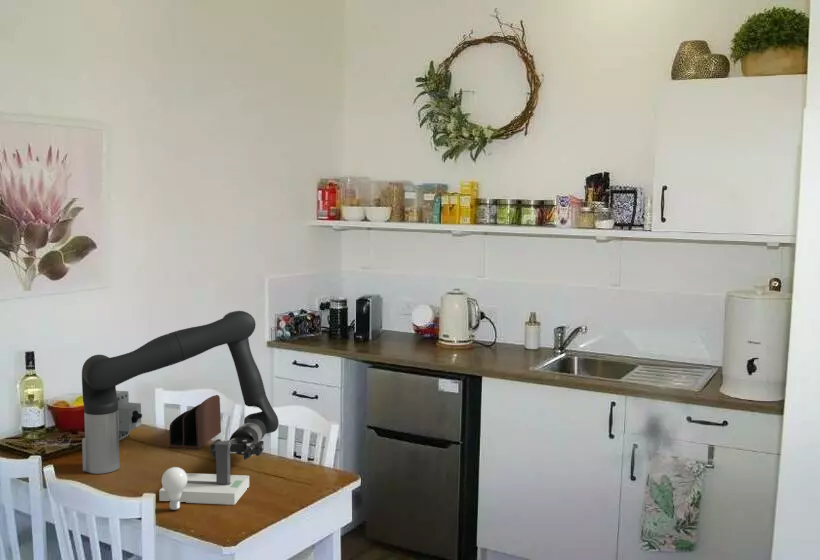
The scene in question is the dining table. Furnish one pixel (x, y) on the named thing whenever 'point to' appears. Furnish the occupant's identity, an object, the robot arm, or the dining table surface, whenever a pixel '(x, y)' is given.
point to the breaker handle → (222, 462)
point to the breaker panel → (210, 489)
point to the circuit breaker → (127, 414)
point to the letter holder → (196, 425)
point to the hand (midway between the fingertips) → (229, 455)
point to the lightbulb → (174, 485)
